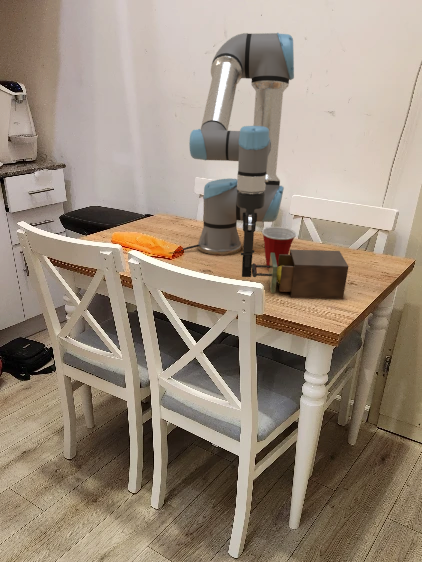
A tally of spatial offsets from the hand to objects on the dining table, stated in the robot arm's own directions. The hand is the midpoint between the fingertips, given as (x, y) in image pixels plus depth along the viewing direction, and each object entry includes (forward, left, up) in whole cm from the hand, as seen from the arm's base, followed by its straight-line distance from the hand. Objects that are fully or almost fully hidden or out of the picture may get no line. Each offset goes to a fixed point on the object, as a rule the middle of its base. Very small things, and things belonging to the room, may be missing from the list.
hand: (246, 276), depth 141 cm
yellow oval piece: (+12, 0, -1) cm, 12 cm away
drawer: (+11, 0, -3) cm, 11 cm away
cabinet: (+20, 0, -3) cm, 20 cm away
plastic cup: (+10, +18, -4) cm, 21 cm away
